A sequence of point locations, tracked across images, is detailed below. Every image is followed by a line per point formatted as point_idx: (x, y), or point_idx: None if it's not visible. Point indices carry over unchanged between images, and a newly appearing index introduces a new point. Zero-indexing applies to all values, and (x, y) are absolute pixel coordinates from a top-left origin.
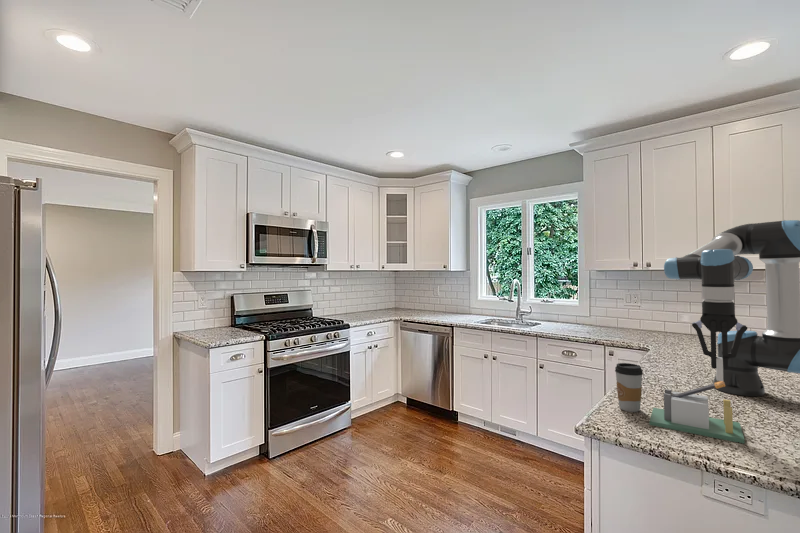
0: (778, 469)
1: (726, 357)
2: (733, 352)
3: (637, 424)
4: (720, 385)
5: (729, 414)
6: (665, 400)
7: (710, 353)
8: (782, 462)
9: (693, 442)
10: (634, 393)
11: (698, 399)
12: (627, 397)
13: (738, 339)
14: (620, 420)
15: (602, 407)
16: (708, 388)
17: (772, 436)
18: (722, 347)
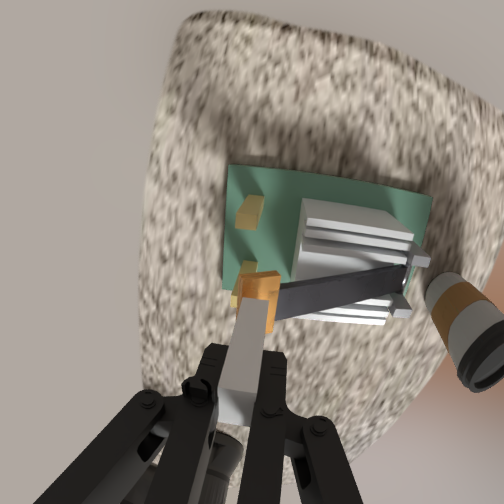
0: (193, 50)
1: (191, 393)
2: (137, 420)
3: (450, 186)
4: (258, 277)
5: (247, 208)
6: (418, 247)
7: (287, 431)
8: (176, 92)
9: (346, 112)
10: (464, 295)
11: None
12: (470, 285)
13: (66, 491)
14: (476, 199)
15: (488, 271)
16: (301, 284)
17: (170, 250)
18: (196, 467)
